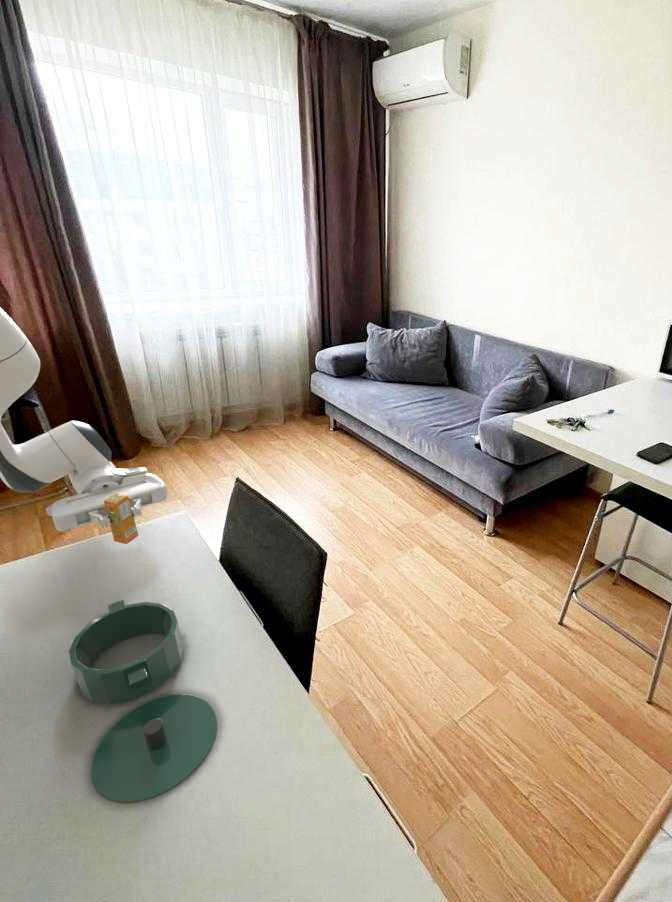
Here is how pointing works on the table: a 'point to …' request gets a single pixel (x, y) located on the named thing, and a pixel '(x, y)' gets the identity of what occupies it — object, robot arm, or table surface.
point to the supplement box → (121, 518)
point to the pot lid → (154, 748)
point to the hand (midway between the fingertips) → (122, 518)
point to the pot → (138, 674)
